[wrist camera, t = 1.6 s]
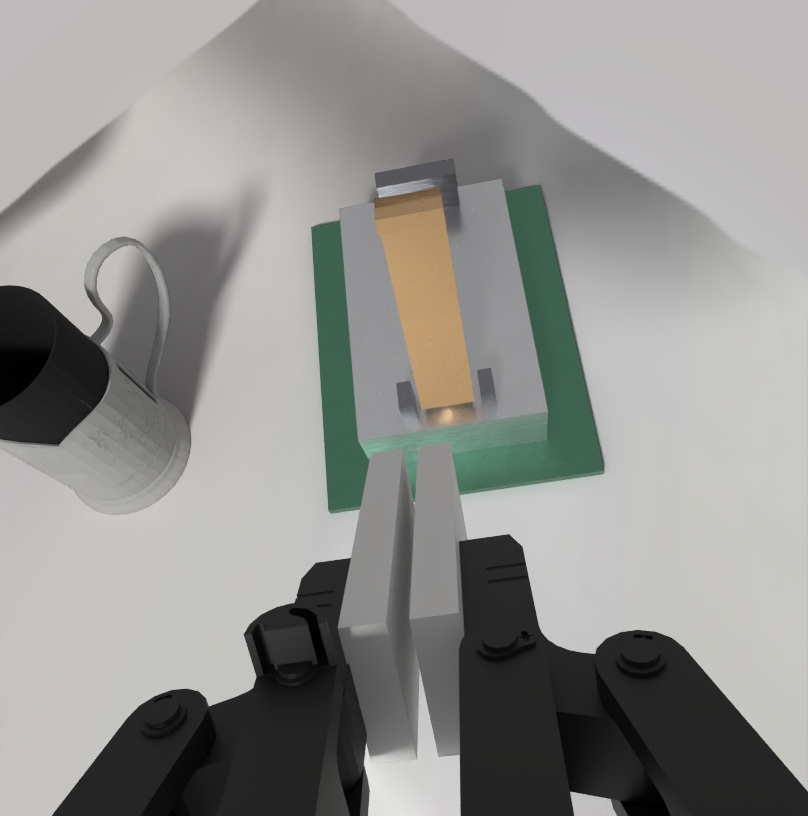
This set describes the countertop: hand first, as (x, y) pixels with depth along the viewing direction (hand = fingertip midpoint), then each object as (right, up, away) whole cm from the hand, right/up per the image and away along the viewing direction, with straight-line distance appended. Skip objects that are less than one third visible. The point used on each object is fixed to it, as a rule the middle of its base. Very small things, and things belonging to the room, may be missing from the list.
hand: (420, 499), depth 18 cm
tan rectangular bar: (+1, +8, +21) cm, 23 cm away
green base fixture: (+2, +7, +34) cm, 34 cm away
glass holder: (-18, +1, +35) cm, 39 cm away
